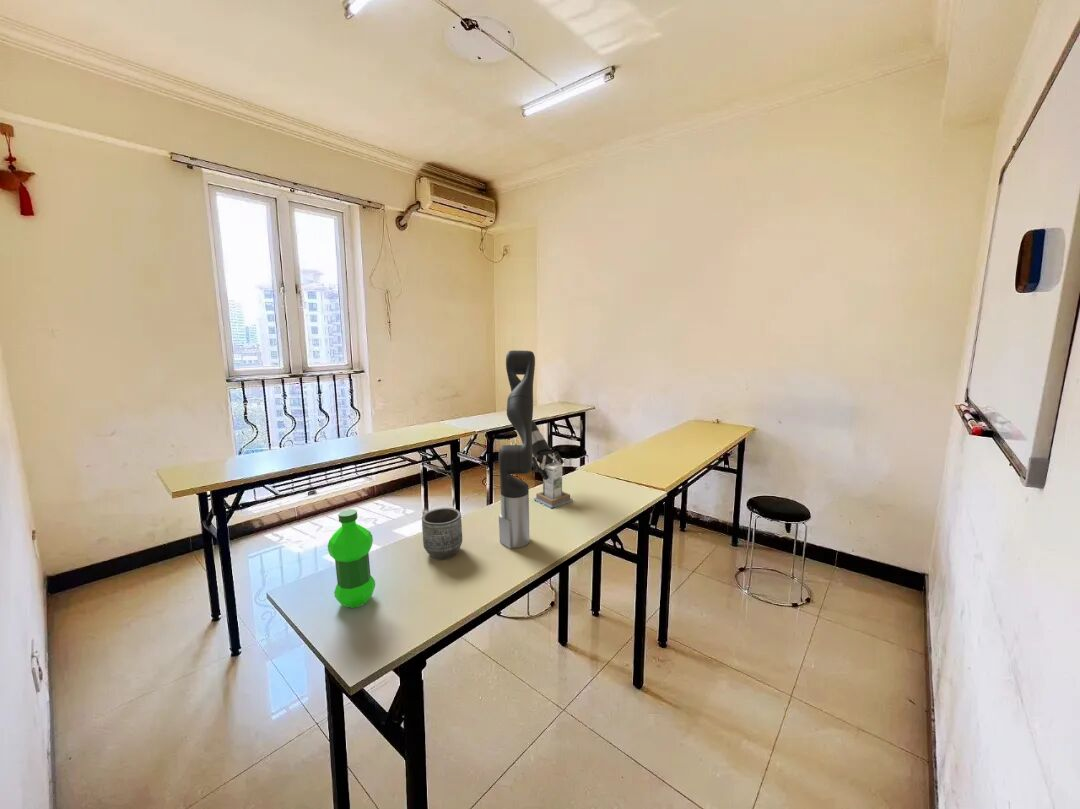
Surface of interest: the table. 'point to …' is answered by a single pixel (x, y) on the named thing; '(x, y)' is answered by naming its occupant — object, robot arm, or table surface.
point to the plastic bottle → (352, 561)
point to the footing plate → (553, 502)
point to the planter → (442, 532)
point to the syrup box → (553, 481)
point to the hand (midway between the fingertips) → (555, 476)
